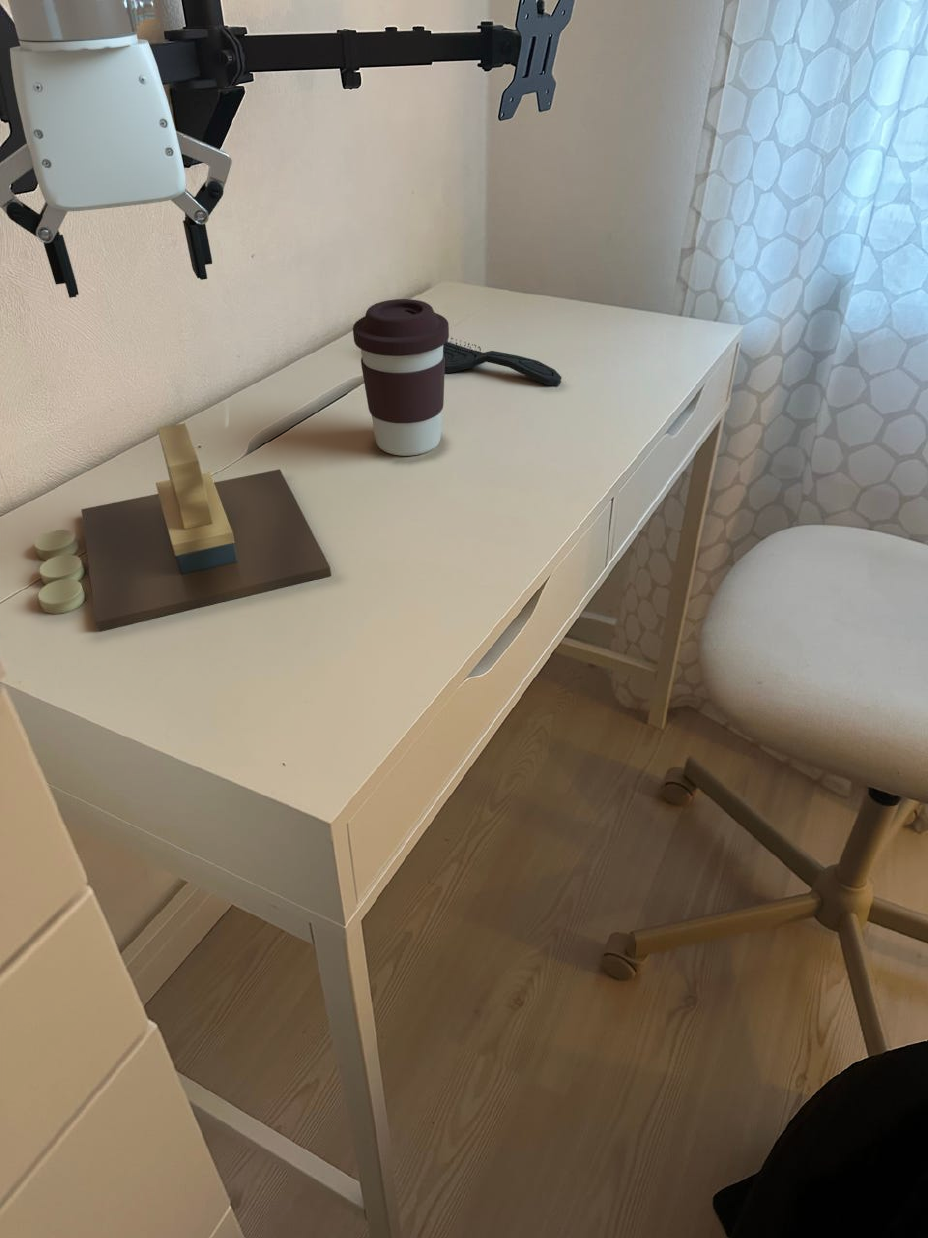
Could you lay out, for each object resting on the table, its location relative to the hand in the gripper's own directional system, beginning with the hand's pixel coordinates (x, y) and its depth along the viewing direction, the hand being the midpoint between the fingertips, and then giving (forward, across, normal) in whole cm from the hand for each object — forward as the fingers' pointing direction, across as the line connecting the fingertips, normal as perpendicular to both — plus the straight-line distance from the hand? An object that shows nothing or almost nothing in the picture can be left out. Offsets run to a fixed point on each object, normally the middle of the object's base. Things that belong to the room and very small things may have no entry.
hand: (138, 283), depth 70 cm
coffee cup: (+24, -25, -12) cm, 37 cm away
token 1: (+24, +13, -5) cm, 28 cm away
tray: (+24, 0, 0) cm, 24 cm away
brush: (+23, 0, 0) cm, 23 cm away
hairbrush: (+24, -40, -29) cm, 55 cm away
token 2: (+24, +12, 0) cm, 27 cm away
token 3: (+24, +12, +4) cm, 28 cm away
